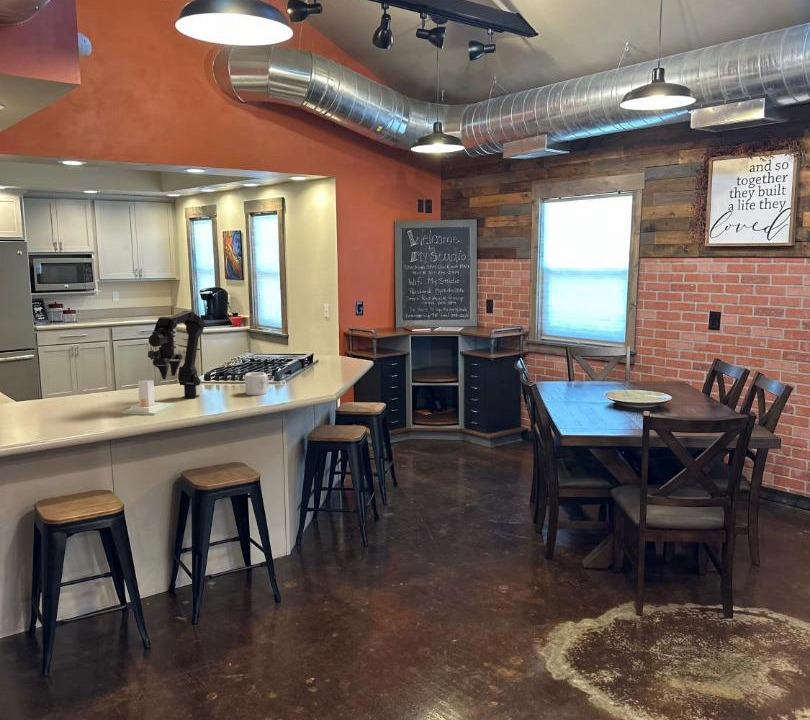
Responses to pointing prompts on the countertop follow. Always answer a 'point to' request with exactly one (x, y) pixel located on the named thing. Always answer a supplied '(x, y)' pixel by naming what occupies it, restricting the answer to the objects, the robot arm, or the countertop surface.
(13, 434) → the countertop surface
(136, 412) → the board
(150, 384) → the plug
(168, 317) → the robot arm
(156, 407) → the white square frame
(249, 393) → the mug
